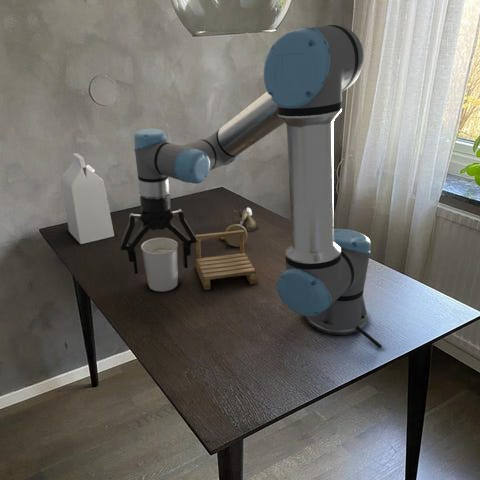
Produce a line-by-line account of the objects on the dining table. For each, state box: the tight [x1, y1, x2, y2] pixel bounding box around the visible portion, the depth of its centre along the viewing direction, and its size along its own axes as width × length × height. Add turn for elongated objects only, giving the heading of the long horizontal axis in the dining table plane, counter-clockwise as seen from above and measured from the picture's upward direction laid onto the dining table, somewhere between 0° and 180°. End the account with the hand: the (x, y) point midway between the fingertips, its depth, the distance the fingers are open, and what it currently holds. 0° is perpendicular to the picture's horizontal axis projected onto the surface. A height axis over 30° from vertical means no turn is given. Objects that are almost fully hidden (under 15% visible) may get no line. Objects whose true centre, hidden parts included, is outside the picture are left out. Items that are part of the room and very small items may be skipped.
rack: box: [194, 230, 257, 291], centre depth 144 cm, size 13×15×11 cm
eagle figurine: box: [232, 207, 257, 232], centre depth 175 cm, size 8×7×9 cm
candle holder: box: [140, 237, 179, 292], centre depth 139 cm, size 10×10×12 cm
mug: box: [220, 223, 248, 248], centre depth 164 cm, size 8×10×10 cm
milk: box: [61, 152, 115, 245], centre depth 164 cm, size 12×12×26 cm
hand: (161, 268), depth 140 cm, fingers open, 13 cm apart
